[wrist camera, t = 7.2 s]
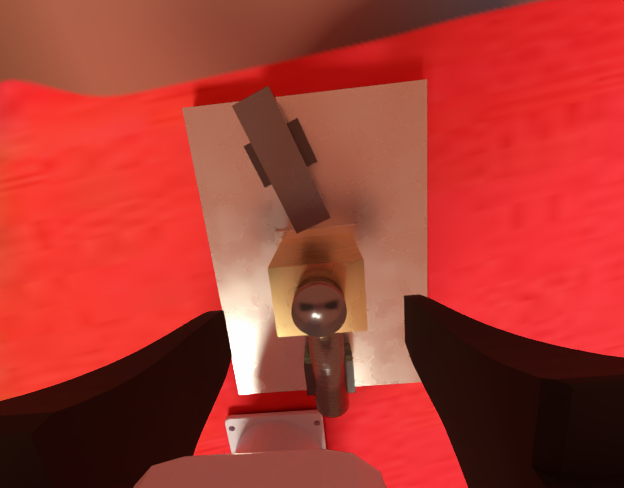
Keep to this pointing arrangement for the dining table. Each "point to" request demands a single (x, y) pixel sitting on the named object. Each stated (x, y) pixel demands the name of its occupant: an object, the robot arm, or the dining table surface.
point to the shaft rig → (316, 225)
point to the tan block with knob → (318, 286)
